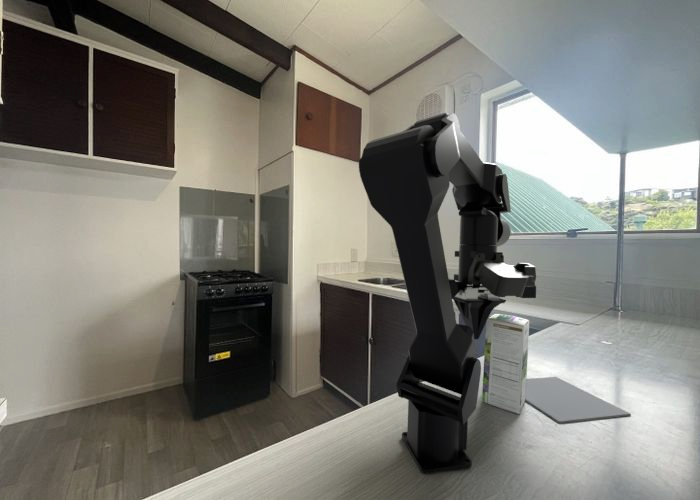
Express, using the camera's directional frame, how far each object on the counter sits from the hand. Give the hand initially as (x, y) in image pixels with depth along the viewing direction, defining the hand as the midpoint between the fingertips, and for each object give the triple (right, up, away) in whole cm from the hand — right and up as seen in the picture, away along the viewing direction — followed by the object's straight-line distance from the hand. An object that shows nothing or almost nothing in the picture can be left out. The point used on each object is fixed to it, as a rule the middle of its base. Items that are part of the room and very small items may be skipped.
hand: (474, 338), depth 46 cm
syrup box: (+6, -12, +1) cm, 13 cm away
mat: (+16, -12, +3) cm, 20 cm away
